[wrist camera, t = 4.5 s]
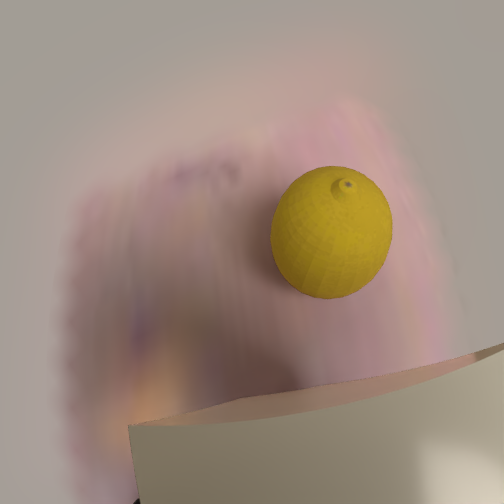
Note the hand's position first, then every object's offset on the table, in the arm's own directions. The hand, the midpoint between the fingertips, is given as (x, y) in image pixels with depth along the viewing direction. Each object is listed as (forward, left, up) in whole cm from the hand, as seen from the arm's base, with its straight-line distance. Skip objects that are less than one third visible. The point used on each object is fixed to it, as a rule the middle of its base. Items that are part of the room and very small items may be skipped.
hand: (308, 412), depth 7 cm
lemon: (+7, -3, -9) cm, 12 cm away
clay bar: (-1, 0, -7) cm, 7 cm away
